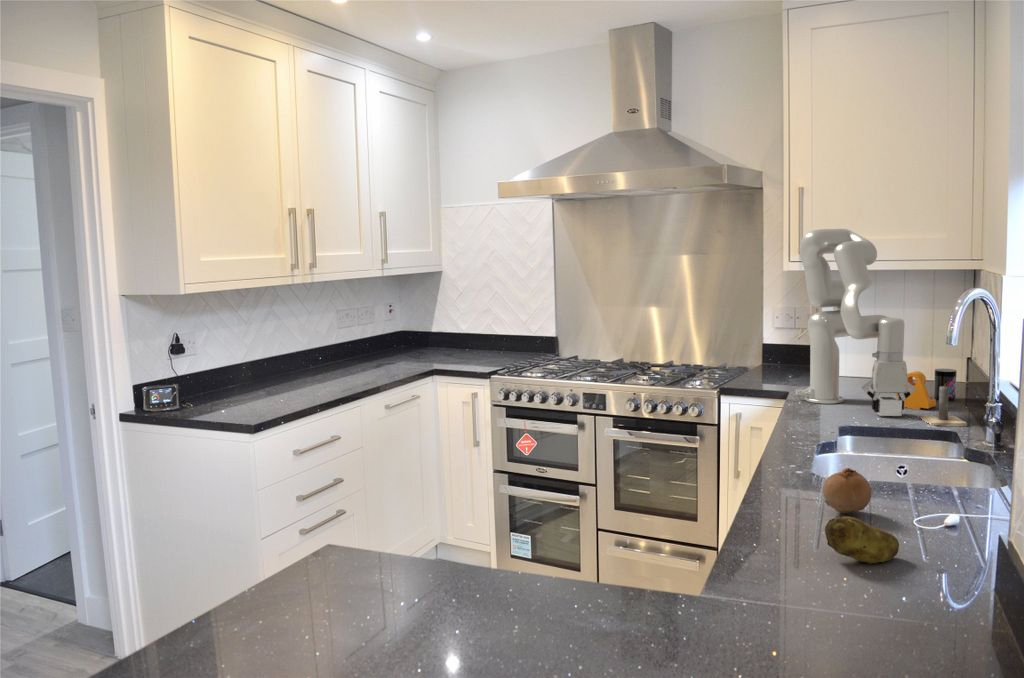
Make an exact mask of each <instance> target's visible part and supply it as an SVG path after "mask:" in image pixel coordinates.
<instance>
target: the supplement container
mask: <svg viewBox="0 0 1024 678" xmlns="http://www.w3.org/2000/svg"><path fill="white" fill-rule="evenodd" d="M957 373H958V372H957V370H956V369H953V368H935V369H934V378H933V379H934V381H933V383H934V384H933V385H934V386H933V388H934V389H933V399H936V401H938V402H939V387H940V386H946V387H949V397H948V402H955V400H956V399H957V377H958V376H957V375H958V374H957Z"/></svg>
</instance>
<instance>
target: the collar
mask: <svg viewBox="0 0 1024 678" xmlns="http://www.w3.org/2000/svg"><path fill="white" fill-rule="evenodd" d="M902 413H903V410H902V400H901V399H899V398H898V397H897V396H896V395H879V396H878V413H876V414H877V415H878V416H879V417H902Z"/></svg>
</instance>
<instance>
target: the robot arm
mask: <svg viewBox="0 0 1024 678" xmlns="http://www.w3.org/2000/svg"><path fill="white" fill-rule="evenodd" d="M826 254H827V255H828V254H831V255H832V254H833V257H834V260H835V263H836V266H837V270H838V271H839V272H838V273H839V276H840V278H841V279H833V277H832V272H831V271H832V270H831V267H830V264H829V262H828V260H826V258H825V257H824V256H823V255H826ZM799 255H800V260H801V263H802V266H803V270H804V277H805V278H804V280H805V285H806V291H807V298H808V301H809V303H810V305H811V306H812V307H815V308H820V309H821V308H822V309H823V308H832V309H833V310H824V311H822V310H821V311H818V312H815V313H814V314H812V315H811V316H809V319H808V321H807V333H808V337H809V345H810V346H809V347H810V349H809V351H810V352H809V353H810V355H809V358H810V362H809V363H810V364H809V369H810V370H809V375H810V376H809V386H807V388H805V389H802V388H800V389H798V388H797V389H795V395H797V396H799V395H800V396H805V397H804V398H805V399H804V400H805V401H807V402H809V403H813V404H822V405H826V404H827V405H830V404H840V403H843V402H844V400H845V399H844V397H843V396H841V395H840V348H839V344H838V343H837V341H836V338H845V337H849V336H850V337H851V338H852V339H855V340H867V339H868V340H869V339H877V346H876V348H877V350H876V351H875V352H873V353H872V354H871V355H872V356H871V357H872V358H875V360H874V362H873V366H872V371H871V378H870V380H869V381H868V382H867V383H865V384H863V386H862V387H861V388H862V390H863V391H864V392H865V394H867V396H869V397H870V398H871V409H872V410H873V412H875V413H876V414H877V413H878V396H880V394H896V395H897V394H898V396H899V399H901V400H902V411H904V410H905V408H904V401H905V400H906V398H907V397H909V396H910V394H911V393H913V392H914V391H915V390H916V389H915V387H913V386H912V385H911V384H910V383H909V382H908V377H907V374H908V368H907V362H906V361H905V360H904V345H905V344H904V342H905V321H904V320H903V319H902V318H901V317H900V318H899V317H889V316H887V315H883V314H870V315H869V314H867V315H861V312H860V309H859V302H858V301H859V297H860V295H861V293H863V292H864V291H866V290H868V289H869V288H870V287H871V286H872V284H873V280H872V278H871V275H870V273H869V269H868V266H870V265H873V264H874V263H875V262H876V260H877V258H878V251H877V248H876V245H874V243H873V242H871V240H869V239H867V238H866V237H863V236H861V235H859V234H858V233H857V232H854V231H852V230H849V229H847V228H823V229H822V228H820V229H815V230H811V231H809V232H807V233H806V234H805V235H804V236H803V237H802V239H801V241H800V244H799ZM869 388H870V389H872V390H873V391H871V390H869ZM908 388H909V389H908ZM907 389H908V390H907ZM904 392H905V393H904Z"/></svg>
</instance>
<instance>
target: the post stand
mask: <svg viewBox="0 0 1024 678" xmlns="http://www.w3.org/2000/svg"><path fill="white" fill-rule="evenodd" d="M948 397H949V387H946V386H940V387H939V401H938V415H919V416H920V417H919V419H920V418H921V419H922V421H923V420H924V421H925V422H924V421H923V422H924V423H926V422H927V423H929V424H930V425H949V426H948V427H968V422H966V421H964V420H963V419H961V418H959V417H958V416H956V415H949V401H948ZM921 419H920V420H921ZM927 423H926V424H927ZM929 424H928V425H929ZM930 425H929V426H930ZM951 425H952V426H951Z"/></svg>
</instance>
